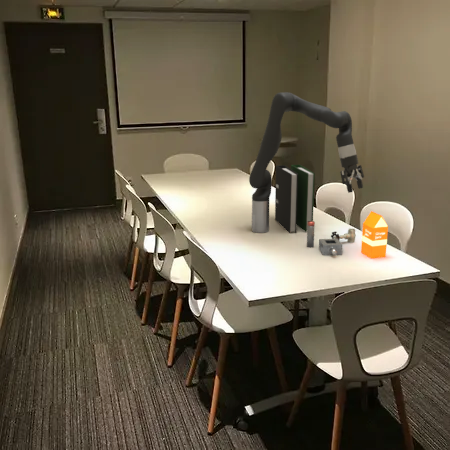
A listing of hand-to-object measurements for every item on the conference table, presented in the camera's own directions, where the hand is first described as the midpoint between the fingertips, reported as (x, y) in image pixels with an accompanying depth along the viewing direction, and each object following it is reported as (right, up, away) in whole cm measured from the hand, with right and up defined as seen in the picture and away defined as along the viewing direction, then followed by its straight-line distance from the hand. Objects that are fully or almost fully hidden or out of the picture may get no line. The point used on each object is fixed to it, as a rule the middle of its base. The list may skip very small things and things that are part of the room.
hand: (355, 190), depth 222 cm
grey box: (-10, -29, +7) cm, 32 cm away
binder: (-22, -16, +51) cm, 58 cm away
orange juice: (+9, -30, +4) cm, 32 cm away
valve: (0, -25, +22) cm, 33 cm away
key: (-18, -26, +16) cm, 36 cm away
